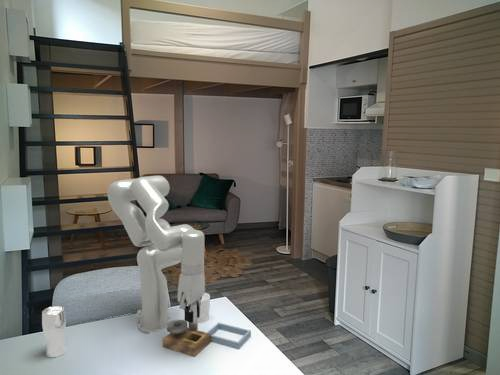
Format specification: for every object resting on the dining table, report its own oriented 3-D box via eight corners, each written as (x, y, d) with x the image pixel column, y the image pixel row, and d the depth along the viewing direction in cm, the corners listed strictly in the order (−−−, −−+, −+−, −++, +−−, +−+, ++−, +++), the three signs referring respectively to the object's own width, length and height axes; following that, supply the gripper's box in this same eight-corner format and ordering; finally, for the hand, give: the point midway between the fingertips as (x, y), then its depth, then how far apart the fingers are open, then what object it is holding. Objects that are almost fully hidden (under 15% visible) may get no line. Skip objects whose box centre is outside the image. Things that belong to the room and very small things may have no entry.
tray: (204, 342, 137) (204, 334, 136) (218, 330, 145) (218, 322, 145) (238, 351, 131) (238, 343, 131) (250, 338, 139) (250, 330, 139)
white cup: (206, 326, 148) (206, 301, 146) (187, 324, 149) (186, 299, 148) (212, 316, 156) (212, 293, 154) (193, 314, 157) (193, 291, 156)
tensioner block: (160, 349, 132) (159, 327, 131) (178, 335, 141) (177, 314, 140) (194, 359, 126) (194, 337, 125) (211, 344, 135) (210, 323, 134)
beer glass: (72, 348, 132) (69, 307, 130) (56, 360, 126) (53, 316, 124) (56, 345, 135) (53, 304, 133) (39, 356, 128) (36, 313, 126)
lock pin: (185, 330, 131) (183, 299, 129) (191, 325, 135) (190, 294, 133) (195, 333, 129) (193, 301, 128) (201, 327, 133) (200, 296, 131)
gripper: (196, 257, 137) (196, 306, 140) (167, 273, 123) (168, 327, 126) (215, 262, 134) (214, 311, 137) (187, 278, 119) (187, 333, 123)
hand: (192, 318), depth 132 cm, fingers closed on lock pin, 3 cm apart
